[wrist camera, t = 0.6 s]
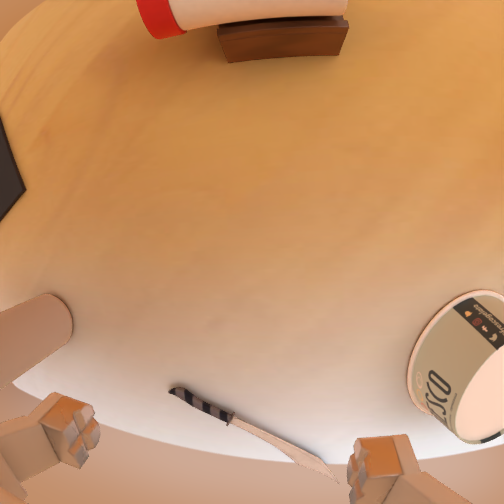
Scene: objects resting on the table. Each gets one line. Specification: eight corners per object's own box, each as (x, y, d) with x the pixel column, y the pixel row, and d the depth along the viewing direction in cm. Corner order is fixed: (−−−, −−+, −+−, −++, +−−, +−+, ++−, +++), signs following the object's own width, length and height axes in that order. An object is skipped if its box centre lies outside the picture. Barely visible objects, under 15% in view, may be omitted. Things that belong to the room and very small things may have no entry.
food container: (568, 294, 14) (520, 276, 20) (445, 341, 15) (406, 307, 22) (539, 423, 15) (506, 391, 22) (426, 477, 17) (402, 429, 23)
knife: (178, 382, 22) (182, 374, 23) (164, 397, 23) (169, 389, 24) (357, 475, 24) (357, 467, 25) (339, 484, 25) (338, 477, 25)
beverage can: (73, 295, 24) (-32, 346, 12) (79, 347, 25) (-9, 415, 13) (34, 289, 24) (-65, 329, 12) (41, 338, 25) (-46, 392, 13)
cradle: (228, 63, 20) (217, 35, 16) (222, 3, 19) (212, -28, 15) (338, 55, 19) (349, 27, 15) (324, -5, 19) (330, -37, 14)
